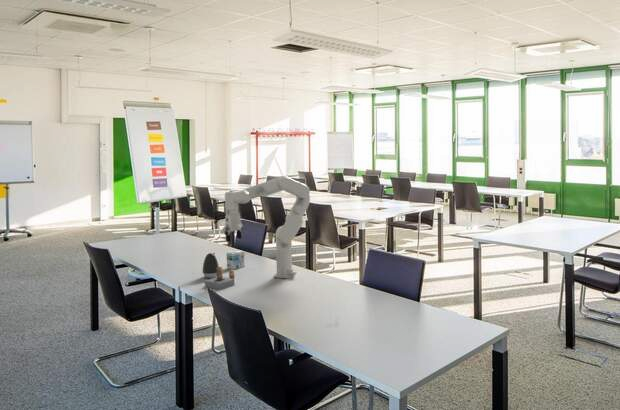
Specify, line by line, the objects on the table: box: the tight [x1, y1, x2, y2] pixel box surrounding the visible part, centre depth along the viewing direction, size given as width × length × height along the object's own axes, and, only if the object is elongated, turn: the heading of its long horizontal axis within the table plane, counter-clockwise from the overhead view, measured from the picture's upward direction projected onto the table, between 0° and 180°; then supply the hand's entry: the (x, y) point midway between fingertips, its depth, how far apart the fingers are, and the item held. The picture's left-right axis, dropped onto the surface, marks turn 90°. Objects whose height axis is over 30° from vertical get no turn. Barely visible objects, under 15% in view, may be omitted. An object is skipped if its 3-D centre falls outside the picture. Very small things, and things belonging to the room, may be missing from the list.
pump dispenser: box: [202, 252, 220, 279], centre depth 306 cm, size 10×10×15 cm
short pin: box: [228, 269, 235, 280], centre depth 303 cm, size 3×3×5 cm
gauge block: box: [204, 276, 235, 291], centre depth 287 cm, size 12×12×4 cm
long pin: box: [216, 266, 223, 281], centre depth 287 cm, size 3×3×11 cm
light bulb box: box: [226, 249, 245, 270], centre depth 331 cm, size 11×7×11 cm, turn 143°
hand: (233, 239), depth 300 cm, fingers open, 9 cm apart
